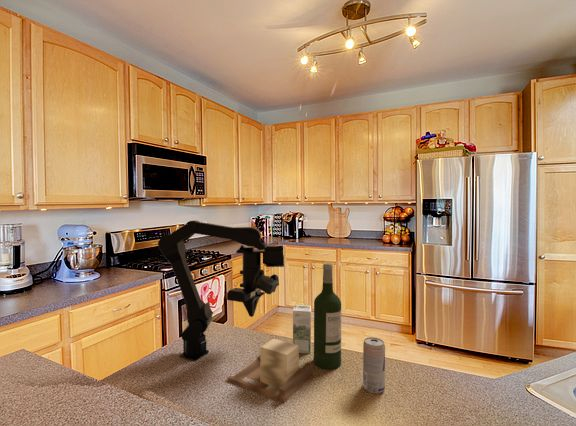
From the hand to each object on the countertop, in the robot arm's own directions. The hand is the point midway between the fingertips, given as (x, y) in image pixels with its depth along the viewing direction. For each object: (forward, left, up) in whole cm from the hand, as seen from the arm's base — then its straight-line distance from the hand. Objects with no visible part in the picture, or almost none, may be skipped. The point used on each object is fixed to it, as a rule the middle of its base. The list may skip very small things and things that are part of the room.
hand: (251, 316), depth 95 cm
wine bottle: (+24, +3, -12) cm, 27 cm away
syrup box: (+14, +8, -12) cm, 20 cm away
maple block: (+16, -11, -11) cm, 22 cm away
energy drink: (+38, -2, -12) cm, 40 cm away
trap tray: (+13, -11, -12) cm, 21 cm away
